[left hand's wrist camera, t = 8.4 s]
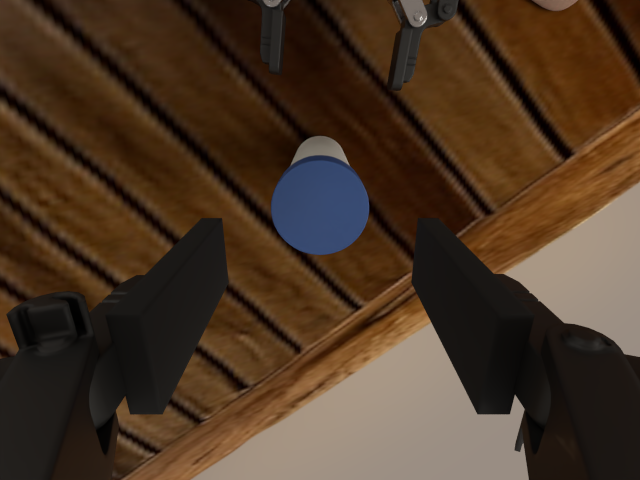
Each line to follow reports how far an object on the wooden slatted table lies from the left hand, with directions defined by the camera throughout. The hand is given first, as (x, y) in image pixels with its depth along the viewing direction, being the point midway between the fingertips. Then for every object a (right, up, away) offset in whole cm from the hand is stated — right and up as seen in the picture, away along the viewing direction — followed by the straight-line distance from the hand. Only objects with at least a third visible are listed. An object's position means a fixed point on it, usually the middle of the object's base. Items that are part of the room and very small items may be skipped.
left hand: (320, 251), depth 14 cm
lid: (0, +2, +6) cm, 6 cm away
